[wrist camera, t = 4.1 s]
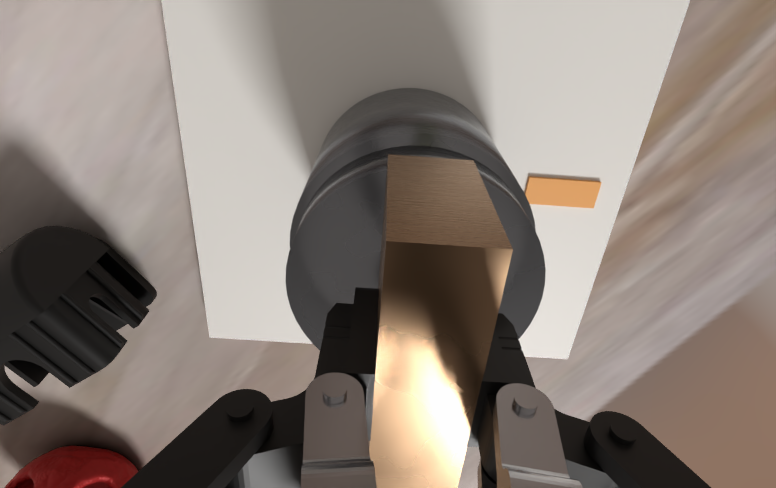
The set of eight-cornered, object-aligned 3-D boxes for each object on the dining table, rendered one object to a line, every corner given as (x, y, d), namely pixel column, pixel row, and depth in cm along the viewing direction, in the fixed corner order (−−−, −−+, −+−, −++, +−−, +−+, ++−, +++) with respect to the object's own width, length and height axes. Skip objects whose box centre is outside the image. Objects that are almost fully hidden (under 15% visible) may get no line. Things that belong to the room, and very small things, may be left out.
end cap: (74, 200, 26) (-19, 265, 20) (167, 290, 29) (110, 370, 23) (-36, 280, 29) (-146, 358, 23) (59, 355, 32) (-17, 441, 26)
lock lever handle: (293, 126, 15) (223, 231, 9) (557, 146, 15) (670, 261, 9) (298, 347, 19) (255, 520, 13) (503, 360, 20) (553, 535, 13)
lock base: (162, -105, 19) (14, -157, 12) (690, -59, 20) (872, -80, 12) (217, 321, 30) (158, 437, 23) (559, 342, 31) (614, 462, 23)
